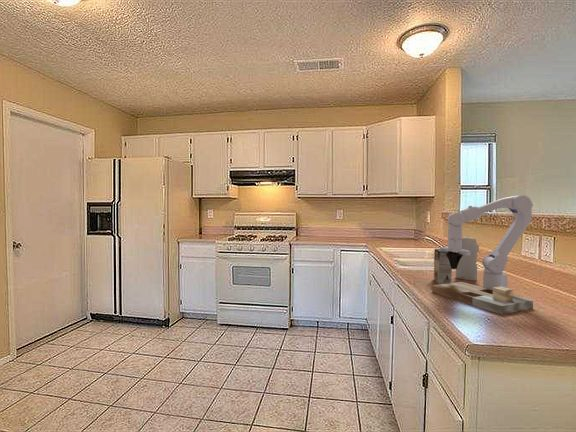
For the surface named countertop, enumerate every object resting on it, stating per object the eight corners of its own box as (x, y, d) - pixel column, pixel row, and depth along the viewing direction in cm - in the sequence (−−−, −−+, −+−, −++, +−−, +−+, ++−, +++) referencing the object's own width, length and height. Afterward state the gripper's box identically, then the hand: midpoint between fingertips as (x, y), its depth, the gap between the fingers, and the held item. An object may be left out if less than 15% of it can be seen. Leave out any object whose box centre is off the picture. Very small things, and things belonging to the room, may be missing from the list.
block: (500, 296, 120) (500, 286, 120) (512, 299, 116) (512, 289, 116) (492, 297, 119) (492, 287, 119) (504, 301, 115) (505, 290, 114)
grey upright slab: (478, 279, 160) (479, 237, 160) (477, 281, 157) (478, 238, 156) (455, 276, 167) (456, 236, 166) (453, 278, 164) (455, 236, 163)
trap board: (461, 288, 144) (461, 281, 144) (533, 308, 116) (533, 300, 116) (432, 292, 137) (432, 285, 137) (501, 314, 109) (501, 306, 109)
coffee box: (433, 279, 161) (433, 248, 160) (446, 280, 160) (447, 249, 159) (438, 283, 152) (438, 251, 151) (452, 284, 151) (453, 251, 150)
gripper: (435, 237, 146) (434, 266, 147) (462, 241, 133) (462, 272, 133) (445, 237, 149) (445, 265, 149) (474, 240, 136) (473, 271, 136)
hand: (453, 268), depth 142 cm, fingers closed
